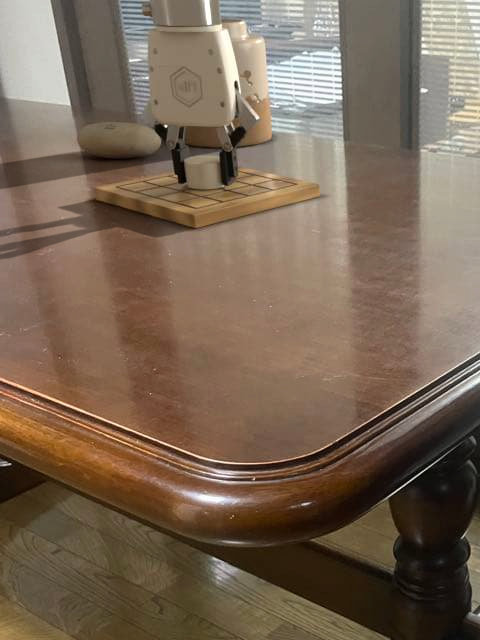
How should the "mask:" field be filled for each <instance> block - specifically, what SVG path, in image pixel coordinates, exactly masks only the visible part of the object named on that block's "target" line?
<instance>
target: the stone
mask: <svg viewBox="0 0 480 640" xmlns="http://www.w3.org/2000/svg"><path fill="white" fill-rule="evenodd" d="M76 140H77V144H78V146H79V147H80V148H81V149H82V150H83V151H84V152H86V153H88V154H90V155H92V156H96V157H100V158H103V159H116V160H117V159H132V158H143V157H146V156H149V155H152V154H153V153H155V152H156V151H157V150H159V149H160V147H161V145H162V139H161V138H160V137H159V136H158V134H157V133H156V132H155V130H154V129H152V128H151V127H150V126H147V125H144V124H143V125H142V124H139V123H134V122H124V121H123V122H121V121H106V122H95V123H90V124H87V125H85V126H83V127H81V129H80V130H79V131H78V132H77V137H76Z"/></svg>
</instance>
